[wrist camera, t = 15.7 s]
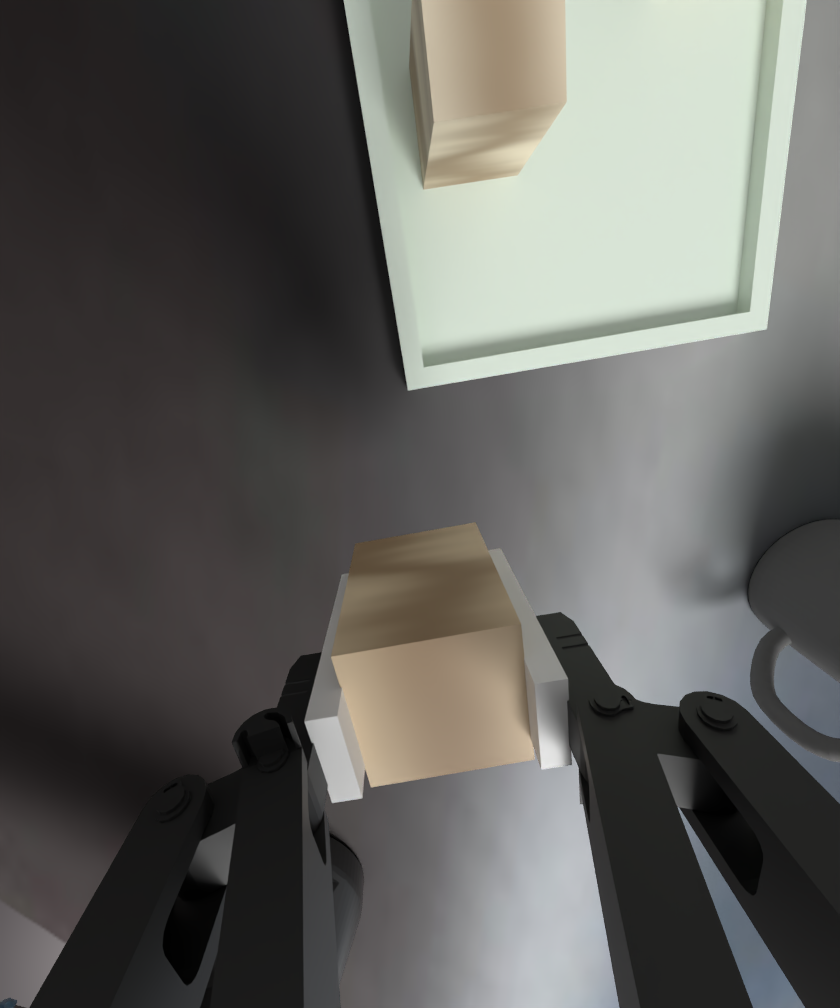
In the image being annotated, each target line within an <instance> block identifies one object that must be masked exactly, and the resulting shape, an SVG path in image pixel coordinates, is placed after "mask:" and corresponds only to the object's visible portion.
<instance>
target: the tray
mask: <svg viewBox="0 0 840 1008" xmlns="http://www.w3.org/2000/svg"><path fill="white" fill-rule="evenodd" d="M343 1H344V7H345V13H346V19H347V25H348V31H349V37H350V43H351V49H352V55H353V62H354V68H355V74H356V80H357V86H358V92H359V98H360V104H361V110H362V116H363V122H364V128H365V134H366V140H367V146H368V152H369V158H370V165H371V171H372V177H373V183H374V189H375V195H376V201H377V207H378V213H379V219H380V225H381V231H382V237H383V243H384V249H385V255H386V261H387V268H388V274H389V280H390V286H391V292H392V298H393V304H394V310H395V316H396V322H397V328H398V334H399V340H400V346H401V352H402V358H403V364H404V371H405V377H406V383H407V389H408V390H414V389H419V388H425V387H431V386H437V385H443V384H449V383H455V382H461V381H466V380H472V379H478V378H484V377H490V376H496V375H502V374H508V373H513V372H519V371H525V370H531V369H537V368H543V367H549V366H554V365H560V364H566V363H572V362H578V361H584V360H590V359H596V358H601V357H607V356H613V355H619V354H625V353H631V352H637V351H643V350H648V349H654V348H660V347H666V346H672V345H678V344H684V343H689V342H695V341H701V340H707V339H713V338H719V337H725V336H731V335H736V334H742V333H748V332H754V331H760V330H766V329H767V323H768V315H769V307H770V298H771V290H772V282H773V274H774V265H775V257H776V249H777V241H778V233H779V224H780V216H781V208H782V200H783V191H784V183H785V175H786V167H787V158H788V150H789V142H790V134H791V126H792V117H793V109H794V101H795V93H796V84H797V76H798V68H799V60H800V52H801V43H802V35H803V27H804V19H805V10H806V2H807V0H565V22H566V89H567V102H566V104H565V105H564V107H563V108H562V110H561V111H560V113H559V114H558V116H557V117H556V119H555V120H554V122H553V123H552V125H551V126H550V128H549V129H548V131H547V132H546V134H545V135H544V137H543V138H542V140H541V141H540V143H539V144H538V146H537V147H536V149H535V150H534V152H533V153H532V155H531V156H530V158H529V159H528V161H527V162H526V164H525V165H524V167H523V168H522V170H521V171H520V173H519V174H518V175H517V176H510V177H503V178H497V179H490V180H484V181H477V182H470V183H464V184H457V185H451V186H444V187H438V188H431V189H424V190H423V182H422V174H421V165H420V156H419V148H418V139H417V131H416V122H415V113H414V105H413V96H412V88H411V79H410V70H409V55H410V30H411V5H412V0H343Z"/></svg>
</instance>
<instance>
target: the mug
mask: <svg viewBox="0 0 840 1008" xmlns="http://www.w3.org/2000/svg"><path fill="white" fill-rule="evenodd" d="M748 596H749V602H750V606H751V608H752V610H753V612H754V614H755V615H756V617H757V618H758V619H759V620H760V621H761V622H762V623H763V624H764V625H765V626H766V627H767V628H768V629H770V630H771V631H769V632H768V633H767V634H766V635H765V636H764V637H763V638H762V639H761V640H760V642H759V644H758V646H757V648H756V649H755V653H754V656H753V659H752V664H751V672H750V685H751V690H752V694H753V697H754V698H755V700H756V702H757V704H758V705H759V707H760V709H761V710H762V711H763V712H764V713H765V714H766V715H767V716H768V718H769V719H770V720H771V721H772V722H773V723H774V724H775V725H776V726H777V727H778V728H779V729H780V730H781V731H782V732H784V733H785V734H786V735H787V736H788V737H789V738H790V739H791V740H793V741H794V742H796V743H797V744H798V745H800V746H801V747H803V748H804V749H806V750H807V751H809V752H811V753H813V754H815V755H817V756H819V757H822V758H825V759H827V760H830V761H835V762H840V739H839V738H832V737H829V736H826V735H823V734H821V733H819V732H817V731H815V730H814V729H812V728H810V727H809V726H807V725H806V724H805V723H803V722H802V721H801V720H800V719H798V718H797V717H796V716H795V715H794V714H792V713H791V712H790V711H789V710H788V709H787V708H786V707H785V706H784V705H783V704H782V703H781V701H780V700H779V698H778V697H777V695H776V693H775V689H774V669H775V664H776V660H777V658H778V655H779V653H780V652H781V651H782V650H783V649H784V648H785V647H786V646H788V645H790V646H791V647H793V648H794V649H795V650H796V651H798V652H799V653H800V654H802V655H803V656H804V657H806V658H807V659H808V660H810V661H811V662H812V663H814V664H815V665H816V666H818V667H819V668H820V669H822V670H823V671H824V672H826V673H827V674H828V675H830V676H831V677H832V678H834V679H835V680H836V681H838V682H839V683H840V520H837V519H829V520H821V521H816V522H812V523H809V524H806V525H803V526H801V527H799V528H797V529H795V530H793V531H791V532H789V533H788V534H786V535H785V536H783V537H782V538H781V539H779V540H778V541H777V542H776V543H774V544H773V545H772V546H771V547H770V548H769V549H768V550H767V552H766V553H765V554H764V555H763V556H762V558H761V559H760V561H759V562H758V564H757V566H756V567H755V569H754V571H753V574H752V576H751V579H750V583H749V591H748Z"/></svg>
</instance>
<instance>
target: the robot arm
mask: <svg viewBox="0 0 840 1008" xmlns="http://www.w3.org/2000/svg"><path fill="white" fill-rule="evenodd" d="M488 552H489V554H490V556H491V558H492V560H493V563H494V565H495V567H496V569H497V571H498V574H499V576H500V578H501V580H502V583H503V585H504V587H505V589H506V591H507V594H508V596H509V598H510V600H511V603H512V605H513V607H514V609H515V611H516V614H517V616H518V618H519V620H520V622H521V628H522V638H523V648H524V666H525V678H526V689H527V701H528V712H529V724H530V735H531V741H532V744H533V747H534V749H535V752H536V755H537V758H538V761H539V764H540V767H541V770H542V769H548V768H555V767H561V766H567V765H572V758H571V751H572V753H573V755H574V758H575V760H576V762H577V765H578V767H579V788H580V804H583V806H584V811H585V817H586V823H587V828H588V834H589V839H590V845H591V850H592V856H593V862H594V867H595V873H596V878H597V884H598V890H599V895H600V901H601V906H602V912H603V918H604V923H605V929H606V934H607V940H608V946H609V951H610V957H611V962H612V968H613V974H614V979H615V985H616V990H617V996H618V1002H619V1007H620V1008H753V1007H752V1004H751V1001H750V999H749V996H748V993H747V991H746V988H745V985H744V983H743V980H742V977H741V975H740V972H739V969H738V967H737V964H736V962H735V959H734V956H733V954H732V951H731V948H730V946H729V943H728V940H727V938H726V935H725V932H724V930H723V927H722V924H721V922H720V919H719V916H718V914H717V911H716V909H715V906H714V903H713V901H712V898H711V895H710V893H709V890H708V887H707V885H706V882H705V879H704V877H703V874H702V871H701V869H700V866H699V863H698V861H697V858H696V855H695V853H694V850H693V848H692V845H691V842H690V840H689V837H688V834H687V832H686V829H685V826H684V824H683V821H682V818H681V816H680V813H679V810H678V808H677V807H679V808H680V809H681V811H682V812H683V814H684V816H685V817H686V819H687V820H688V822H689V824H690V825H691V827H692V828H693V830H694V831H695V833H696V835H697V836H698V838H699V839H700V841H701V843H702V844H703V846H704V847H705V849H706V851H707V852H708V854H709V855H710V857H711V858H712V860H713V862H714V863H715V865H716V866H717V868H718V870H719V871H720V873H721V874H722V876H723V877H724V879H725V881H726V882H727V884H728V885H729V887H730V889H731V890H732V892H733V893H734V895H735V897H736V898H737V900H738V901H739V903H740V904H741V906H742V908H743V909H744V911H745V912H746V914H747V916H748V917H749V919H750V920H751V922H752V924H753V925H754V927H755V928H756V930H757V931H758V933H759V935H760V936H761V938H762V939H763V941H764V943H765V944H766V946H767V947H768V949H769V951H770V952H771V954H772V955H773V957H774V958H775V960H776V962H777V963H778V965H779V966H780V968H781V970H782V971H783V973H784V974H785V976H786V978H787V979H788V981H789V982H790V984H791V985H792V987H793V989H794V990H795V992H796V993H797V995H798V997H799V998H800V1000H801V1001H802V1003H803V1005H804V1006H805V1008H840V804H839V803H838V802H837V801H836V800H835V799H834V798H833V797H832V796H831V795H830V794H829V793H828V792H827V791H826V790H825V789H824V788H823V787H822V786H821V785H820V784H819V783H818V782H817V781H816V780H815V779H814V778H813V777H812V776H811V775H810V774H809V773H808V772H807V771H806V770H805V769H804V768H803V767H802V766H801V765H800V764H799V762H798V761H797V760H796V759H795V758H794V757H793V756H792V755H791V754H790V753H789V752H788V751H787V750H786V749H785V748H784V747H783V746H782V745H781V744H780V743H779V742H778V741H777V740H776V739H775V738H774V737H773V736H772V735H771V734H770V733H769V732H768V731H767V730H766V729H765V728H764V727H763V726H762V725H761V724H760V723H759V722H758V721H757V720H756V719H755V718H754V717H753V716H752V715H751V714H750V713H749V712H748V711H747V710H746V709H744V708H743V707H742V706H741V705H739V704H738V703H737V702H735V701H734V700H731V699H729V698H727V697H725V696H723V695H720V694H716V693H712V692H707V691H703V692H692V693H690V694H687V695H685V696H684V697H683V699H682V700H681V701H680V706H679V707H675V706H666V705H657V704H650V703H645V702H642V701H639V700H636V699H635V698H634V697H633V695H631V694H630V693H629V692H628V691H626V690H625V689H624V688H621V687H619V686H617V685H615V684H614V683H613V681H612V680H611V678H610V677H609V675H608V674H607V672H606V670H605V669H604V667H603V666H602V664H601V663H600V661H599V660H598V658H597V657H596V655H595V654H594V652H593V650H592V649H591V647H590V646H588V643H587V641H586V640H585V638H584V637H583V636H582V634H581V632H580V630H579V629H578V627H577V626H576V624H575V623H574V621H572V620H571V619H569V618H568V617H567V616H565V615H564V614H562V613H561V612H559V613H552V614H546V615H540V616H535V614H534V612H533V610H532V608H531V606H530V604H529V602H528V600H527V598H526V597H525V595H524V593H523V591H522V589H521V587H520V585H519V583H518V581H517V579H516V577H515V575H514V573H513V571H512V570H511V568H510V566H509V564H508V562H507V560H506V558H505V556H504V554H503V552H502V550H501V548H499V549H493V550H488ZM348 575H349V573H348V574H342V576H341V580H340V584H339V588H338V592H337V596H336V600H335V603H334V607H333V611H332V615H331V619H330V623H329V627H328V631H327V635H326V638H325V642H324V646H323V650H322V652H321V653H315V654H309V655H303V656H300V658H299V659H298V660H297V661H296V662H295V664H294V665H293V666H292V667H291V669H290V671H289V674H288V677H287V680H286V685H285V686H284V689H283V691H282V697H280V700H279V703H278V706H277V708H271V709H266V710H263V711H261V712H259V713H257V714H255V715H253V716H252V717H250V718H249V719H248V720H246V721H245V722H244V723H243V724H242V725H241V726H240V728H239V729H238V730H237V731H236V733H235V735H234V738H233V740H232V745H233V747H234V749H235V751H236V754H237V756H238V758H239V761H240V763H241V765H242V767H243V768H241V769H239V770H238V771H236V772H234V773H232V774H230V775H228V776H226V777H223V778H221V779H219V780H217V781H215V782H212V783H210V784H208V785H207V784H206V782H205V780H204V779H202V778H201V777H200V776H198V775H186V776H183V777H179V778H176V779H175V780H173V781H171V782H170V783H168V784H166V785H165V786H163V787H162V788H161V789H160V790H159V791H158V792H157V793H156V794H155V795H153V796H152V798H151V799H150V800H149V802H148V803H147V804H146V806H145V807H144V808H143V810H142V812H141V814H140V815H139V817H138V819H137V821H136V822H135V824H134V826H133V828H132V829H131V831H130V833H129V835H128V836H127V838H126V840H125V842H124V843H123V845H122V847H121V849H120V850H119V852H118V854H117V856H116V857H115V859H114V861H113V863H112V864H111V866H110V868H109V870H108V871H107V873H106V875H105V876H104V878H103V880H102V882H101V883H100V885H99V887H98V889H97V890H96V892H95V894H94V896H93V897H92V899H91V901H90V903H89V904H88V906H87V908H86V910H85V911H84V913H83V915H82V917H81V918H80V920H79V922H78V924H77V925H76V927H75V929H74V931H73V932H72V934H71V936H70V938H69V939H68V941H67V943H66V945H65V946H64V948H63V950H62V952H61V954H60V955H59V957H58V959H57V960H56V962H55V964H54V966H53V967H52V969H51V971H50V973H49V975H48V976H47V978H46V980H45V981H44V983H43V985H42V987H41V988H40V990H39V992H38V994H37V996H36V997H35V999H34V1001H33V1002H32V1004H31V1006H30V1008H341V1007H340V991H339V984H340V981H341V978H342V974H343V971H344V968H345V965H346V962H347V959H348V955H349V952H350V949H351V946H352V943H353V940H354V936H355V933H356V930H357V927H358V924H359V920H360V916H361V911H362V900H363V885H364V876H363V871H362V868H361V865H360V863H359V861H358V860H357V858H356V857H355V856H354V854H353V853H352V852H351V851H350V850H349V849H348V848H346V847H345V846H344V845H343V844H341V843H340V842H338V841H337V840H335V839H333V838H331V837H329V823H328V819H327V816H326V812H325V810H324V806H325V800H326V794H327V789H328V792H329V795H330V798H331V801H332V803H336V802H342V801H348V800H355V799H361V798H362V796H363V784H364V772H365V764H364V760H363V757H362V754H361V750H360V747H359V743H358V740H357V737H356V733H355V730H354V726H353V723H352V720H351V716H350V713H349V709H348V706H347V703H346V699H345V696H344V692H343V689H342V688H340V685H339V682H338V678H337V675H336V672H335V669H334V666H333V662H332V659H331V654H332V649H333V644H334V640H335V635H336V631H337V626H338V621H339V617H340V612H341V608H342V603H343V598H344V594H345V589H346V584H347V580H348ZM16 1003H17V1000H14V999H11V998H8V999H4V1000H2V1001H1V1002H0V1008H25V1007H21V1006H17V1005H16Z"/></svg>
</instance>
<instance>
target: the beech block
mask: <svg viewBox="0 0 840 1008" xmlns="http://www.w3.org/2000/svg"><path fill="white" fill-rule="evenodd" d="M409 70H410V79H411V88H412V96H413V105H414V113H415V122H416V131H417V139H418V148H419V156H420V165H421V174H422V182H423V190H424V189H431V188H438V187H444V186H451V185H457V184H464V183H470V182H477V181H484V180H490V179H497V178H503V177H510V176H517V175H518V174H519V173H520V171H521V170H522V168H523V167H524V165H525V164H526V162H527V161H528V159H529V158H530V156H531V155H532V153H533V152H534V150H535V149H536V147H537V146H538V144H539V143H540V141H541V140H542V138H543V137H544V135H545V134H546V132H547V131H548V129H549V128H550V126H551V125H552V123H553V122H554V120H555V119H556V117H557V116H558V114H559V113H560V111H561V110H562V108H563V107H564V105H565V104H566V102H567V89H566V22H565V0H412V5H411V30H410V55H409Z"/></svg>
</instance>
